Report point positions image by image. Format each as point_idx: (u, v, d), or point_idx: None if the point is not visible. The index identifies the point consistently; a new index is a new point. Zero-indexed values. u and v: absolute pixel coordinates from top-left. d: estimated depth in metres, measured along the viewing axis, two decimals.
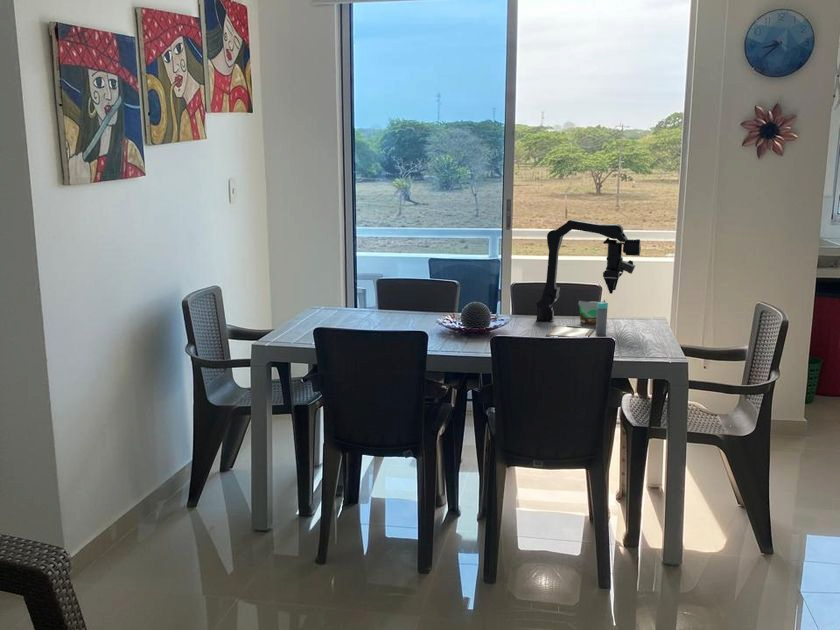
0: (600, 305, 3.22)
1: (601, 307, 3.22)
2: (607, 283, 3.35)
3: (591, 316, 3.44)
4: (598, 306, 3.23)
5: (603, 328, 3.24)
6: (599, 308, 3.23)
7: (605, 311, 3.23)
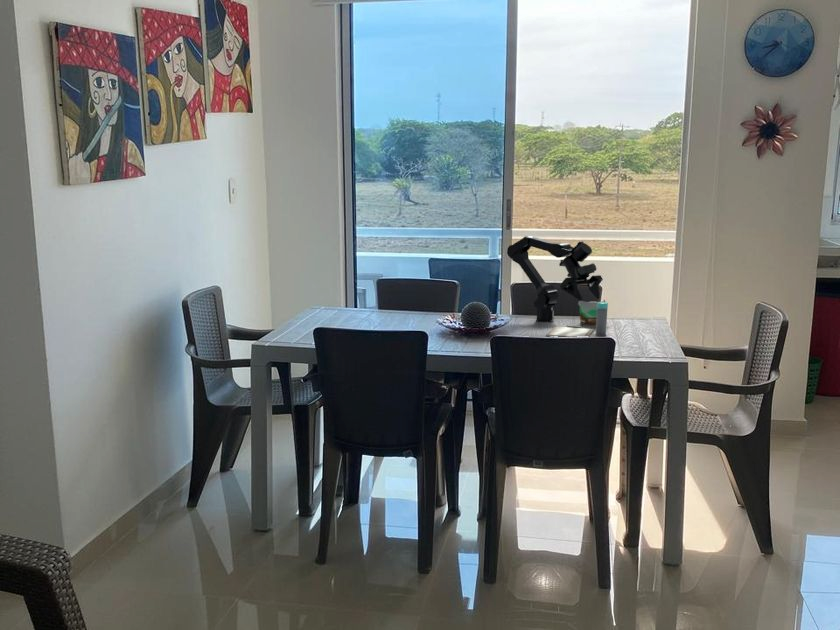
0: (600, 305, 3.22)
1: (601, 307, 3.22)
2: (572, 294, 3.31)
3: (591, 316, 3.44)
4: (598, 306, 3.23)
5: (603, 328, 3.24)
6: (599, 308, 3.23)
7: (605, 311, 3.23)
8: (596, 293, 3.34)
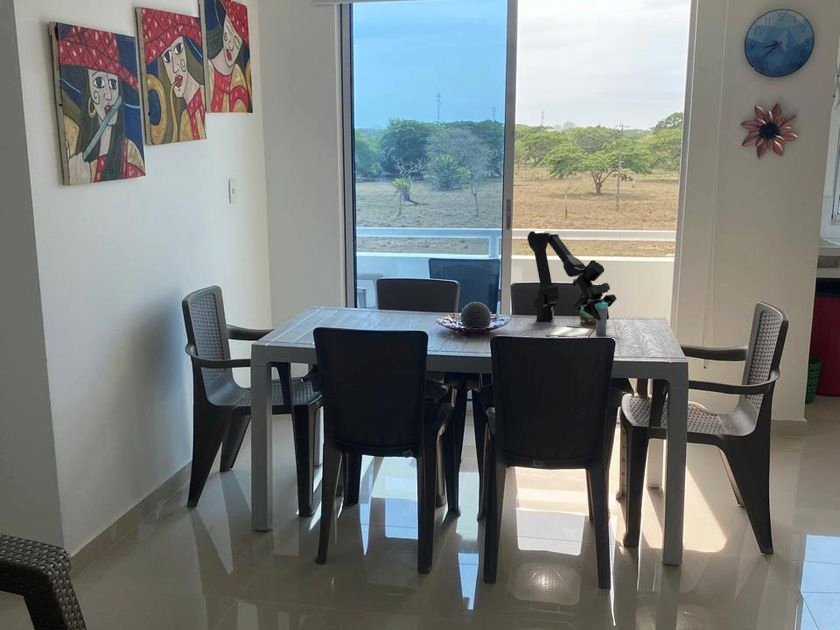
0: (600, 305, 3.22)
1: (601, 307, 3.22)
2: (590, 313, 3.25)
3: (591, 316, 3.44)
4: (598, 306, 3.23)
5: (603, 328, 3.24)
6: (599, 308, 3.23)
7: (605, 311, 3.23)
8: None
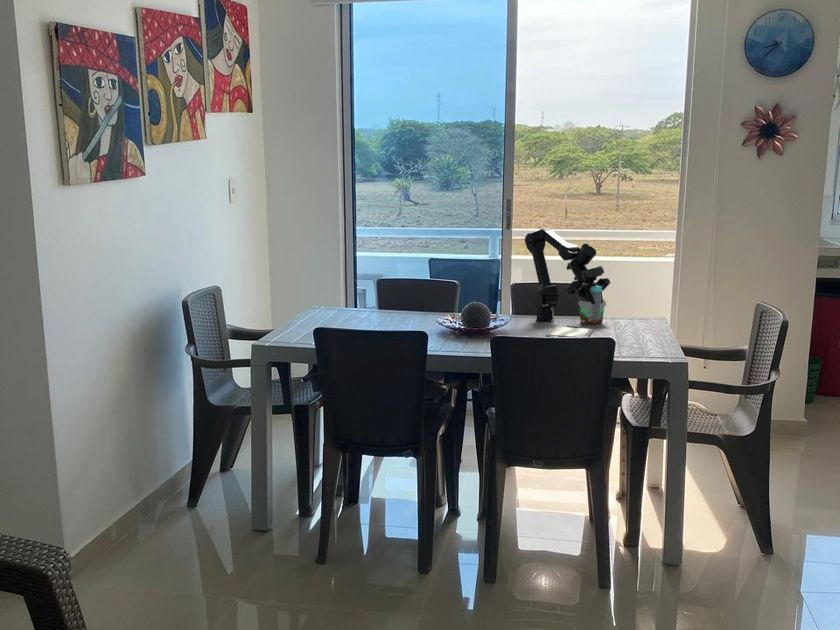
0: (594, 288, 3.20)
1: (595, 290, 3.20)
2: (584, 297, 3.23)
3: None
4: (592, 289, 3.21)
5: (597, 312, 3.22)
6: (593, 291, 3.21)
7: (599, 294, 3.20)
8: None
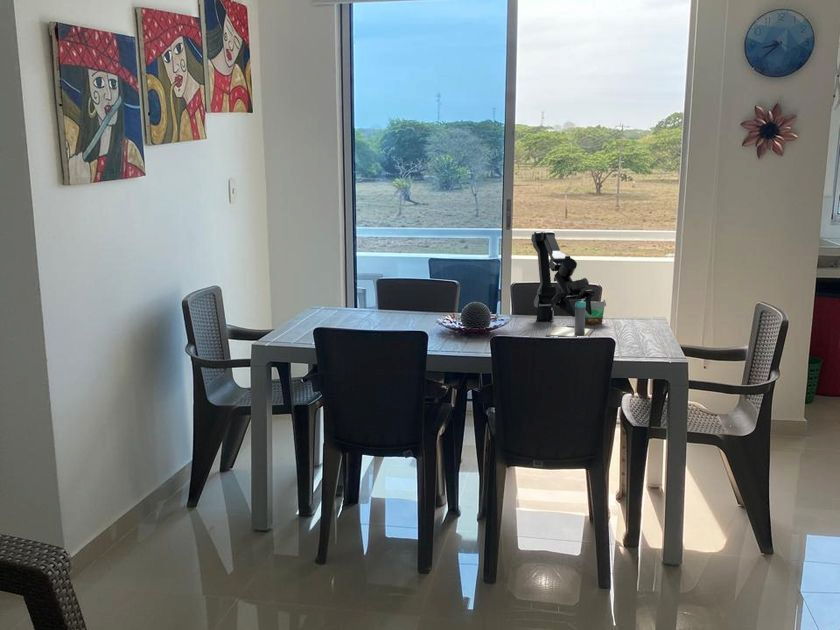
0: (578, 304, 3.19)
1: (579, 306, 3.19)
2: (564, 309, 3.21)
3: (591, 316, 3.44)
4: (576, 305, 3.20)
5: (581, 327, 3.21)
6: (577, 307, 3.20)
7: (583, 310, 3.20)
8: (588, 309, 3.23)
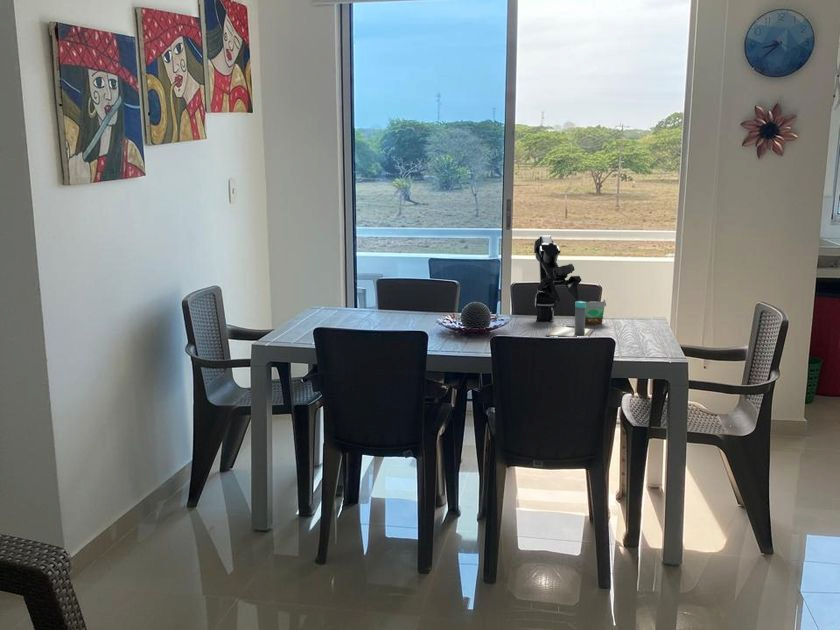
0: (578, 304, 3.19)
1: (579, 306, 3.19)
2: (550, 294, 3.27)
3: (591, 316, 3.44)
4: (576, 305, 3.20)
5: (581, 328, 3.21)
6: (577, 307, 3.19)
7: (583, 310, 3.19)
8: (575, 294, 3.30)
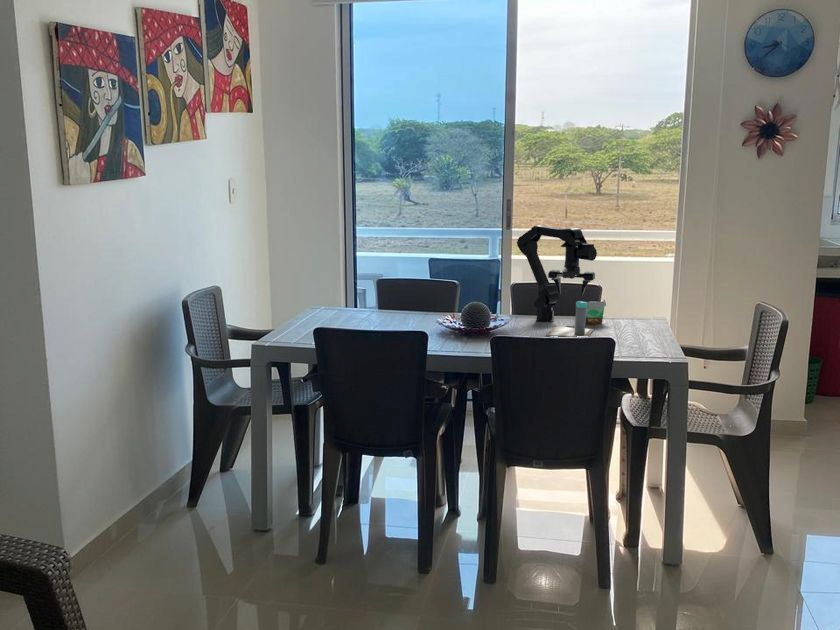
0: (579, 304, 3.19)
1: (580, 306, 3.19)
2: None
3: (591, 316, 3.44)
4: (577, 305, 3.20)
5: (581, 328, 3.20)
6: (578, 307, 3.19)
7: (584, 310, 3.19)
8: None
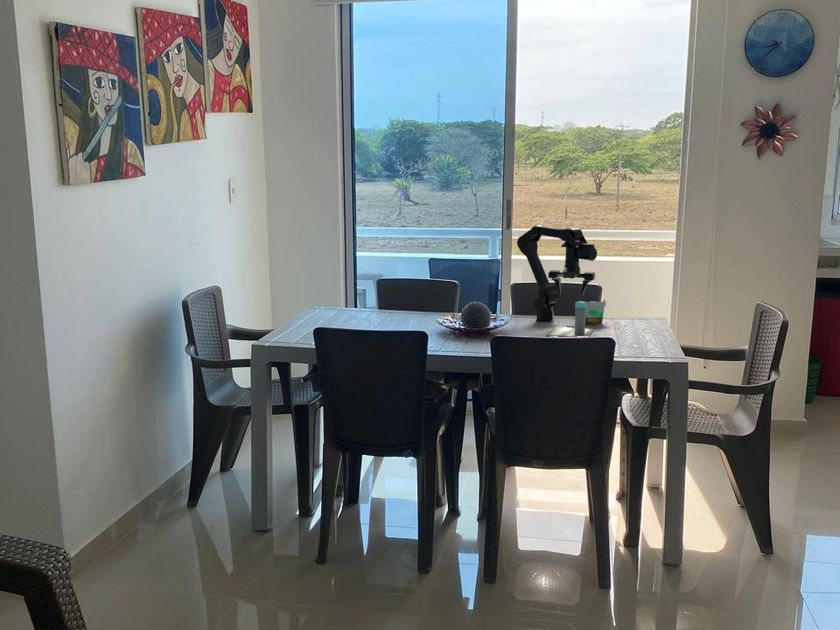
0: (578, 304, 3.19)
1: (579, 306, 3.19)
2: None
3: (591, 316, 3.44)
4: (576, 305, 3.19)
5: (581, 328, 3.20)
6: (577, 307, 3.19)
7: (583, 310, 3.19)
8: None
